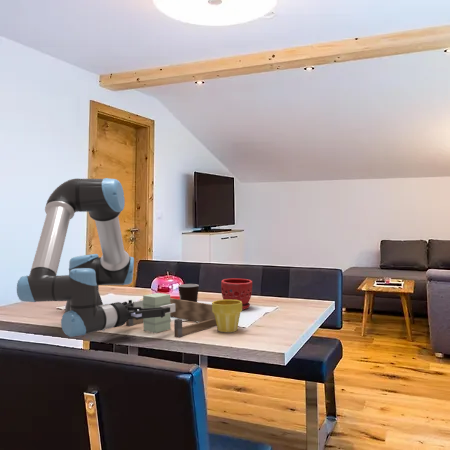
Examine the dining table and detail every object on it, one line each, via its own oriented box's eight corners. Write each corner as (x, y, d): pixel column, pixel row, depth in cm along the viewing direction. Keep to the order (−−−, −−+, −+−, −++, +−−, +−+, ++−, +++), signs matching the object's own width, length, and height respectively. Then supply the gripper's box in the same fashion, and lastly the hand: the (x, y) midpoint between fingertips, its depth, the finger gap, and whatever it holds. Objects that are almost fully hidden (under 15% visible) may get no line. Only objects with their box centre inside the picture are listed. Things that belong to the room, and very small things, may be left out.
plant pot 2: (211, 327, 162) (211, 299, 162) (240, 326, 163) (240, 298, 162) (213, 334, 151) (212, 305, 151) (244, 333, 152) (243, 304, 152)
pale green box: (143, 330, 158) (142, 295, 158) (158, 326, 163) (158, 292, 163) (155, 333, 154) (154, 297, 154) (170, 329, 160) (170, 294, 159)
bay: (126, 325, 165) (125, 306, 165) (168, 315, 181) (168, 297, 181) (178, 337, 148) (178, 315, 148) (219, 325, 164) (219, 305, 164)
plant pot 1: (216, 310, 190) (216, 281, 190) (228, 304, 202) (228, 277, 202) (246, 312, 185) (246, 283, 185) (256, 306, 197) (256, 278, 197)
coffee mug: (196, 311, 188) (195, 287, 188) (175, 310, 190) (175, 286, 190) (203, 306, 199) (202, 283, 199) (183, 305, 201) (183, 282, 201)
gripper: (87, 322, 152) (137, 311, 168) (136, 333, 136) (186, 320, 152) (87, 299, 151) (137, 291, 168) (136, 308, 136) (186, 298, 152)
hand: (160, 305), depth 160 cm, fingers open, 13 cm apart
